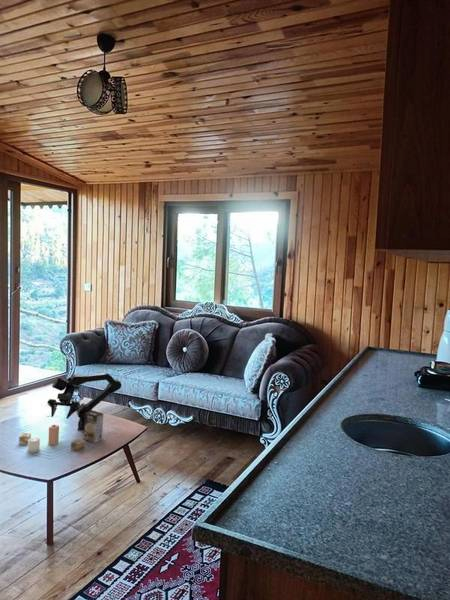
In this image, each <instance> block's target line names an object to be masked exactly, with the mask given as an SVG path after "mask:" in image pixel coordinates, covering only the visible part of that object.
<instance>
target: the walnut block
mask: <svg viewBox="0 0 450 600" xmlns="http://www.w3.org/2000/svg"><path fill="white" fill-rule="evenodd" d="M70 450H71V451H73V452H77V453H79V452H81V451H83V450H85V440H81V439H75V440H73V441H71V443H70Z"/></svg>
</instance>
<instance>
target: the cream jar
mask: <svg viewBox="0 0 450 600" xmlns="http://www.w3.org/2000/svg"><path fill="white" fill-rule="evenodd" d="M40 442H41V440H40V438H39V437H31V439H29V440H28V444H27V452H28V453H30V454H35V453H38V452H39V451H40V445H41V444H40Z"/></svg>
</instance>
